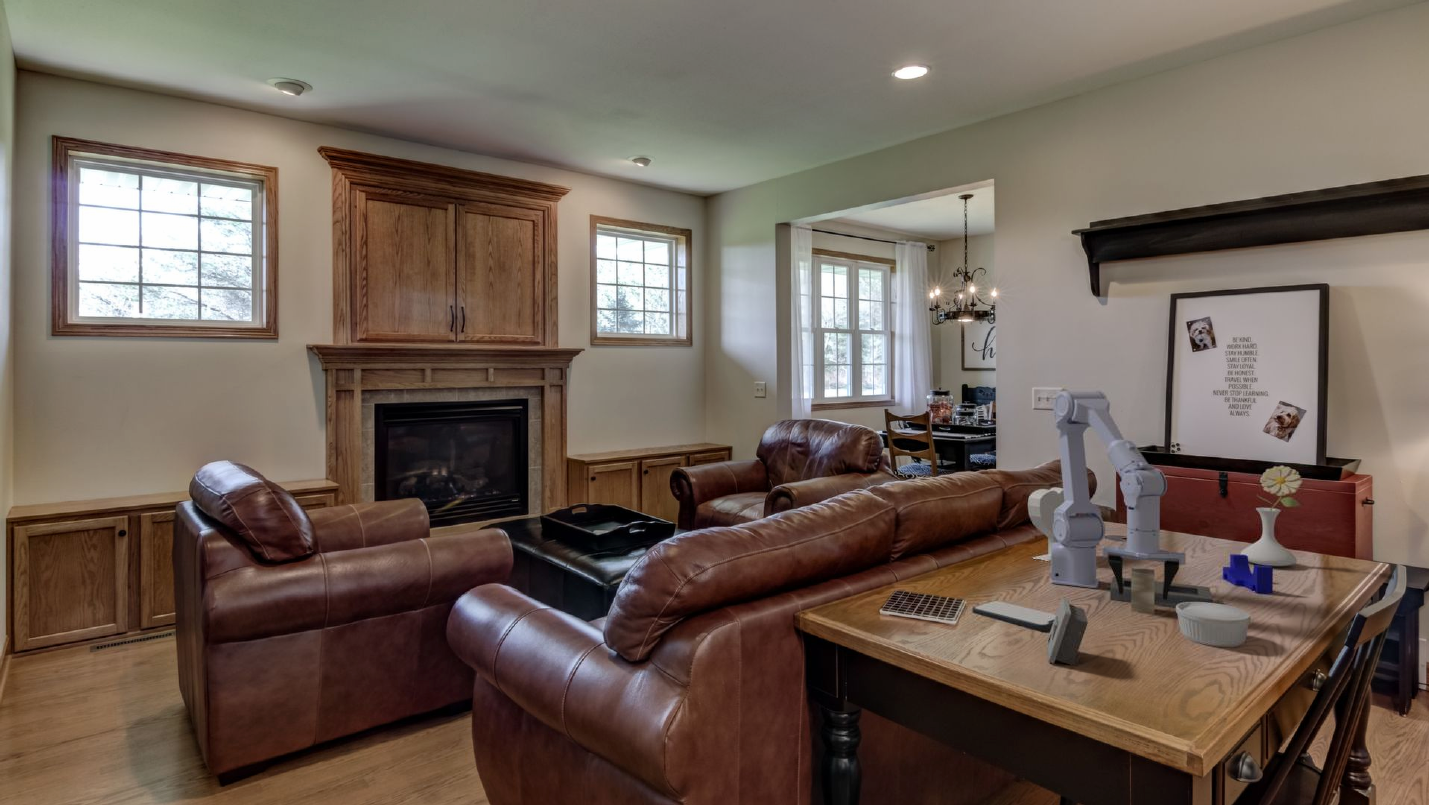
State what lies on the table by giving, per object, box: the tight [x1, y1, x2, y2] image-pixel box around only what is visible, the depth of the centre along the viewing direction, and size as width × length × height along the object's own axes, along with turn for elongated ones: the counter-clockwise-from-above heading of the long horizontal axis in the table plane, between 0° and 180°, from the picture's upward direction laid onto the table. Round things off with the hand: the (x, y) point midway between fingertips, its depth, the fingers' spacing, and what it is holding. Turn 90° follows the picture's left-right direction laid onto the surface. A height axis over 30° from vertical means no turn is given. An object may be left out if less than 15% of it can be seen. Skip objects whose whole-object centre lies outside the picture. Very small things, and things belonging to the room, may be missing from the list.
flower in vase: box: [1239, 465, 1303, 567], centre depth 185 cm, size 13×11×25 cm
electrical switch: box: [1046, 597, 1089, 666], centre depth 126 cm, size 9×5×9 cm, turn 158°
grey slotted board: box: [1110, 576, 1213, 608], centre depth 158 cm, size 18×10×2 cm, turn 59°
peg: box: [1130, 567, 1155, 615], centre depth 151 cm, size 4×4×8 cm
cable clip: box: [1222, 553, 1274, 595], centre depth 167 cm, size 12×4×6 cm, turn 169°
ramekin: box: [1175, 602, 1251, 648], centre depth 134 cm, size 11×11×5 cm
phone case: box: [972, 600, 1056, 633], centre depth 147 cm, size 9×2×16 cm
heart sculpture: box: [1027, 486, 1077, 561], centre depth 196 cm, size 16×5×18 cm, turn 119°
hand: (1142, 595), depth 151 cm, fingers open, 7 cm apart
